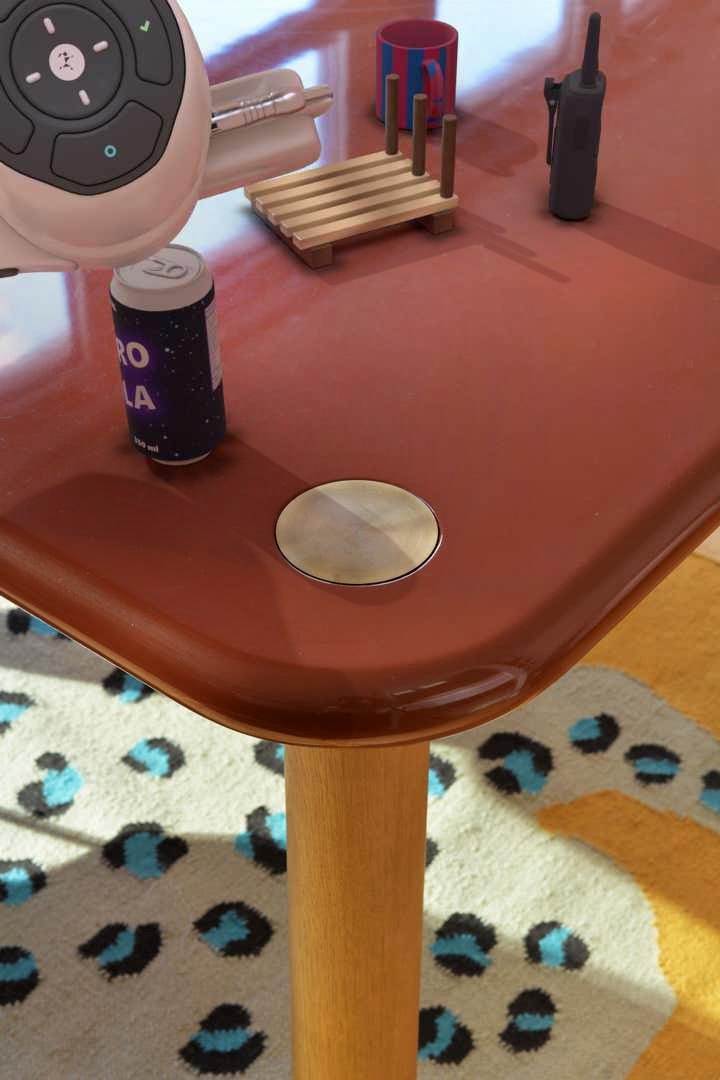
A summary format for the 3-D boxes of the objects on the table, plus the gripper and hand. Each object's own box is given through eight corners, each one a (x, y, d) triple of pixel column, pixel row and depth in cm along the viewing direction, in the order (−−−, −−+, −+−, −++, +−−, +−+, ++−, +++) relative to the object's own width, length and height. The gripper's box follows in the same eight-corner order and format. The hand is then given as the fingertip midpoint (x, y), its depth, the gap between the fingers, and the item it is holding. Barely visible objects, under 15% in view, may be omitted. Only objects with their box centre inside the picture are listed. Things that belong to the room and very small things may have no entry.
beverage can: (159, 407, 83) (137, 231, 76) (243, 427, 82) (230, 250, 74) (114, 460, 80) (86, 281, 72) (201, 482, 78) (182, 301, 70)
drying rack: (303, 271, 96) (299, 161, 90) (242, 212, 102) (235, 106, 97) (460, 227, 100) (466, 120, 95) (392, 173, 107) (394, 69, 101)
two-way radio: (590, 226, 100) (615, 22, 90) (530, 221, 101) (548, 18, 91) (594, 191, 104) (618, -7, 94) (536, 186, 105) (554, -11, 95)
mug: (448, 95, 118) (451, 16, 113) (467, 146, 110) (471, 63, 106) (371, 98, 117) (371, 19, 113) (385, 150, 110) (386, 67, 105)
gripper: (315, 6, 55) (285, 82, 69) (-180, 148, 53) (-110, 198, 67) (361, 159, 56) (323, 204, 70) (-124, 305, 54) (-66, 322, 68)
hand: (108, 202), depth 68 cm, fingers open, 8 cm apart
